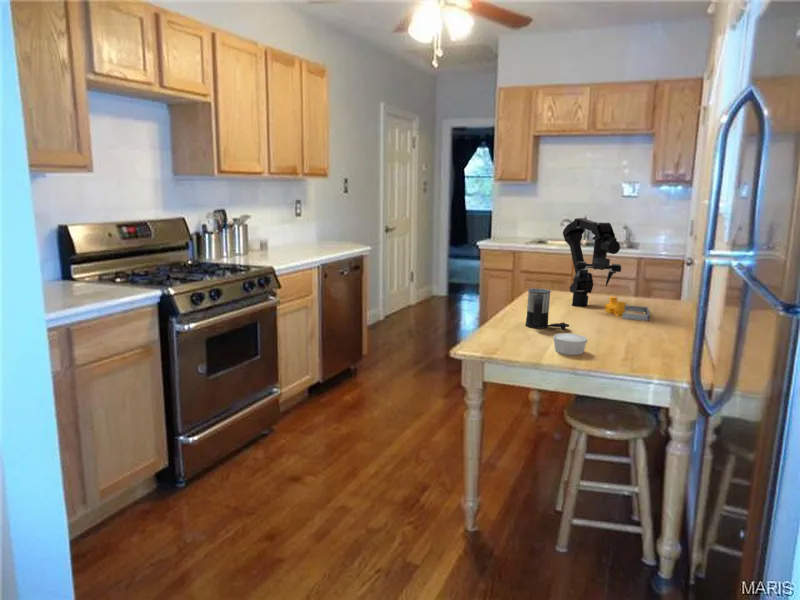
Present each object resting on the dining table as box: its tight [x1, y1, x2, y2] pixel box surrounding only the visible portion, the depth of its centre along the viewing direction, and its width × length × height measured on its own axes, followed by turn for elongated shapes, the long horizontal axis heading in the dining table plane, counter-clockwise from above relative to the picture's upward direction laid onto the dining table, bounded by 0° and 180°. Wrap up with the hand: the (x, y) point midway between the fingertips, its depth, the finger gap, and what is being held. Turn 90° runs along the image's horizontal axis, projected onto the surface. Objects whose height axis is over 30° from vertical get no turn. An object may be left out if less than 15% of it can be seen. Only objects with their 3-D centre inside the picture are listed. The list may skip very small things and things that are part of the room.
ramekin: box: [552, 333, 588, 356], centre depth 206 cm, size 11×11×5 cm
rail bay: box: [621, 304, 651, 322], centre depth 263 cm, size 11×18×2 cm, turn 160°
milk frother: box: [525, 287, 570, 330], centre depth 237 cm, size 14×16×15 cm
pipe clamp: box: [604, 296, 626, 317], centre depth 265 cm, size 12×4×6 cm, turn 0°
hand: (596, 285), depth 266 cm, fingers open, 8 cm apart
